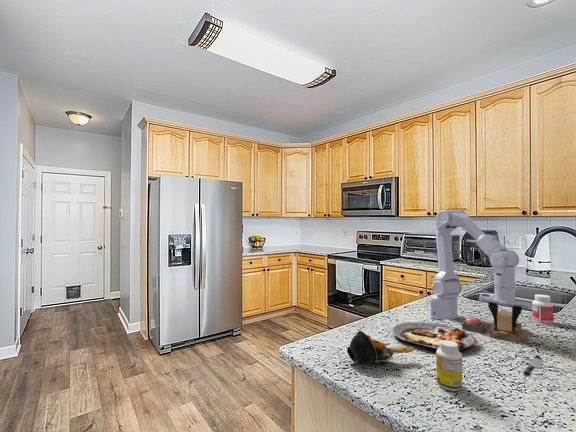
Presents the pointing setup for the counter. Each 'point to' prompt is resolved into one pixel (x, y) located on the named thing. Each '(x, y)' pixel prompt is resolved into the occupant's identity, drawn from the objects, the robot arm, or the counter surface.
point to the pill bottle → (542, 310)
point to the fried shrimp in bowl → (372, 349)
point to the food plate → (432, 334)
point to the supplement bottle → (449, 366)
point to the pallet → (516, 336)
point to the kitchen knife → (534, 365)
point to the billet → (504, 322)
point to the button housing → (473, 327)
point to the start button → (473, 321)
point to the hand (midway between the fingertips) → (504, 327)
